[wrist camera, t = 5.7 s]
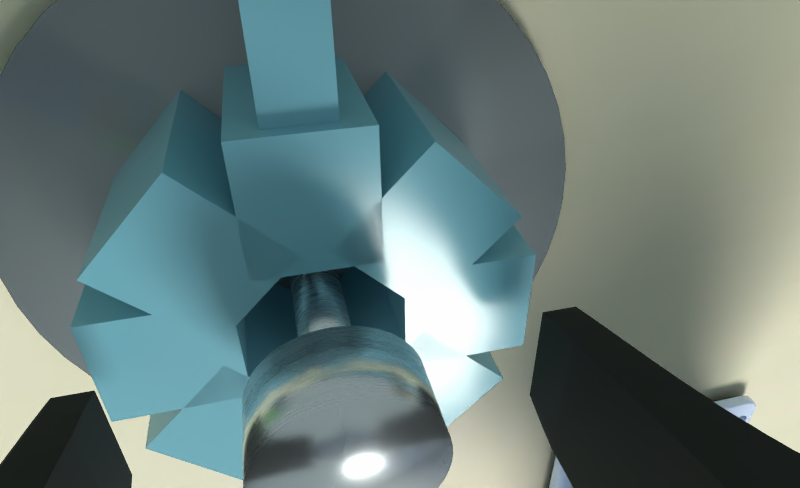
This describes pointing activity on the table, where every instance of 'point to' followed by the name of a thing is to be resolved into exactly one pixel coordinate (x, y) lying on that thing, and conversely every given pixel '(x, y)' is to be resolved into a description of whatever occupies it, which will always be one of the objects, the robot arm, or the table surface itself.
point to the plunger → (341, 404)
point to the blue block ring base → (271, 192)
